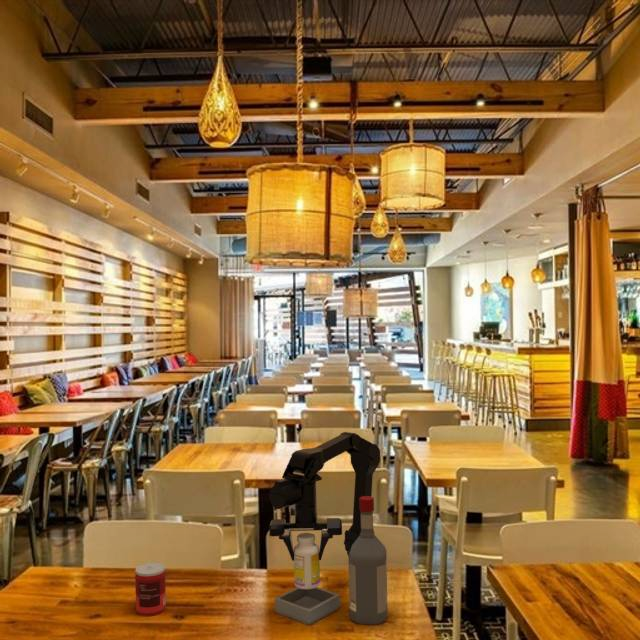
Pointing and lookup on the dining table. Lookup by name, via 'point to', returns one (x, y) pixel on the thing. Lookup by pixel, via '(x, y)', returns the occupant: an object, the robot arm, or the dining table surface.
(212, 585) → the dining table surface
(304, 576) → the supplement bottle
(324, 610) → the tray
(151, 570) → the canned food
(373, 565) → the liquor
